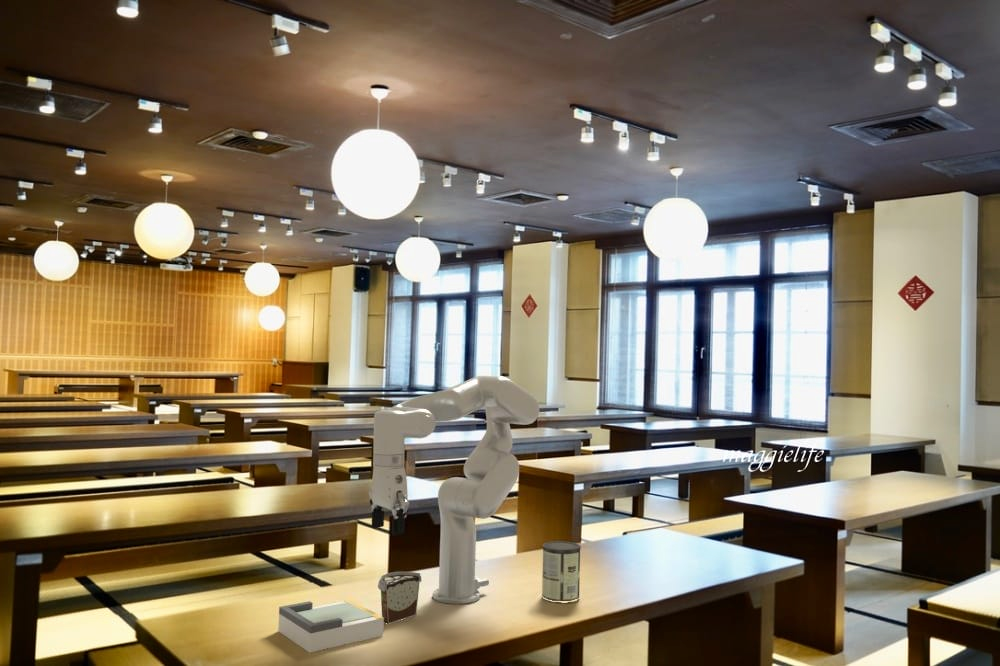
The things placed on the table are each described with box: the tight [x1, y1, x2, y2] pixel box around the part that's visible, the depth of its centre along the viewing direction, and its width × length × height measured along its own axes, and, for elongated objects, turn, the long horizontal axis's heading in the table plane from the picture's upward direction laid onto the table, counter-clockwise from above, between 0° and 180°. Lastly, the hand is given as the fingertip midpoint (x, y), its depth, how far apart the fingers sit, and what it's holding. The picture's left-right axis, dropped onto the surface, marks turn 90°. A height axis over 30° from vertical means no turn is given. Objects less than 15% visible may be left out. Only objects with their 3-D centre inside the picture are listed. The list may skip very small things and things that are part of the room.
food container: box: [377, 571, 422, 625], centre depth 189 cm, size 12×6×10 cm, turn 141°
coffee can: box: [541, 540, 582, 601], centre depth 209 cm, size 10×10×14 cm
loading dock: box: [277, 599, 385, 654], centre depth 176 cm, size 18×16×6 cm
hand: (387, 530), depth 189 cm, fingers open, 9 cm apart
